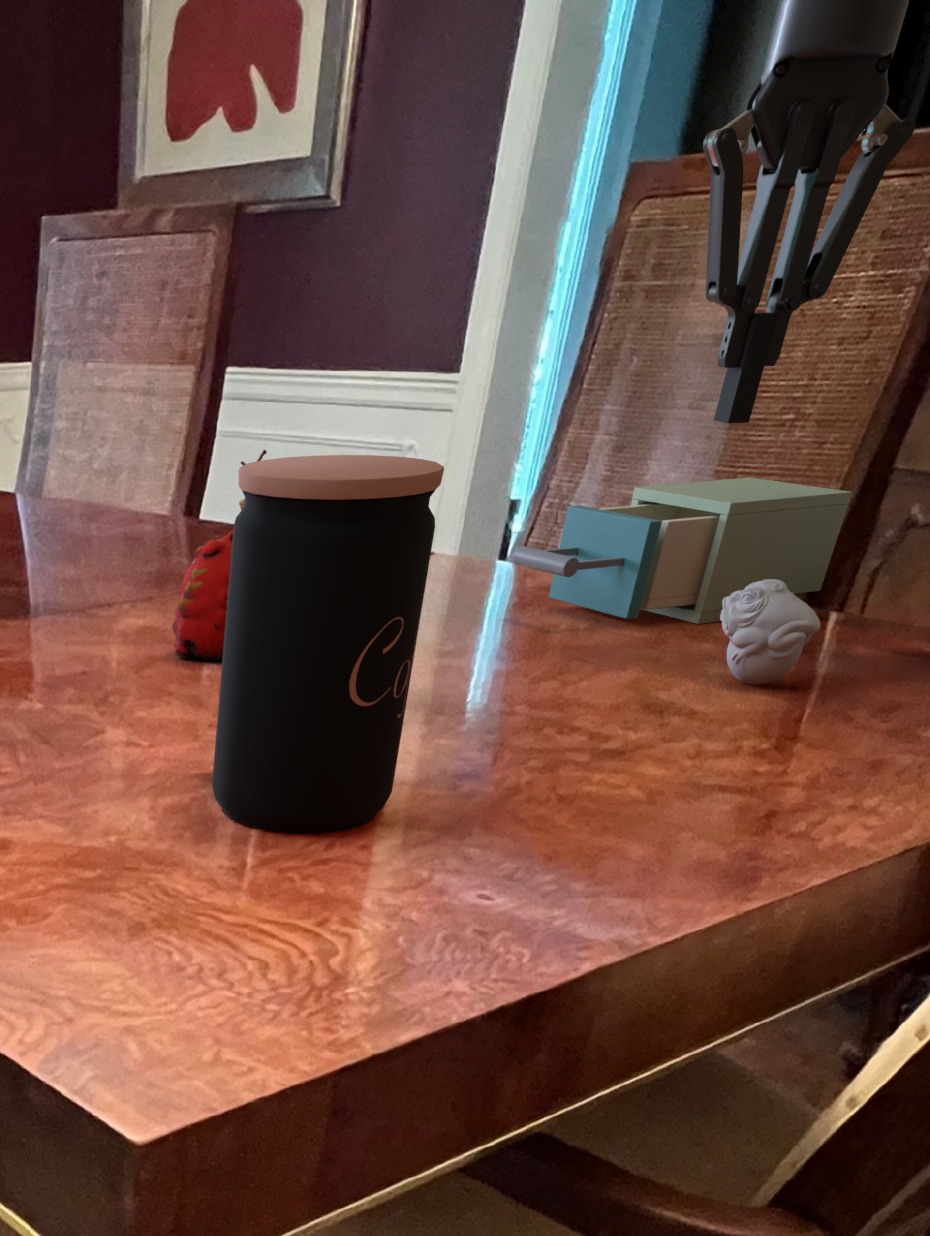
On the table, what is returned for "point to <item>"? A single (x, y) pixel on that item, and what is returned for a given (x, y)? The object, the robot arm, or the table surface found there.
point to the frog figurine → (765, 630)
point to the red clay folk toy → (205, 600)
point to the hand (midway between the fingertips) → (731, 421)
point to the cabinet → (756, 536)
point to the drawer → (627, 557)
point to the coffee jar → (320, 638)
